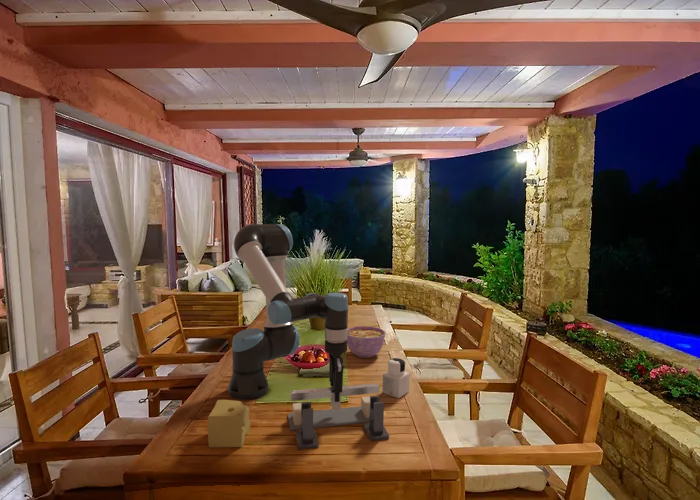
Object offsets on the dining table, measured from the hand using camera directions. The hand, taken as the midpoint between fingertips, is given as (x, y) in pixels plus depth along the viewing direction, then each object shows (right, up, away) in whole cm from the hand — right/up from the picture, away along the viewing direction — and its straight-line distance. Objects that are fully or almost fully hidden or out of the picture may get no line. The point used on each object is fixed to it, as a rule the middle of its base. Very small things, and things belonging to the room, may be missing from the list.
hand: (335, 407), depth 133 cm
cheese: (-32, -5, -13) cm, 35 cm away
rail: (0, +4, 0) cm, 4 cm away
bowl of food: (+12, +1, +61) cm, 62 cm away
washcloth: (-8, -1, +40) cm, 41 cm away
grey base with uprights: (0, -4, 0) cm, 4 cm away
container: (+23, -3, +21) cm, 31 cm away
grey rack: (+2, -5, -11) cm, 12 cm away
